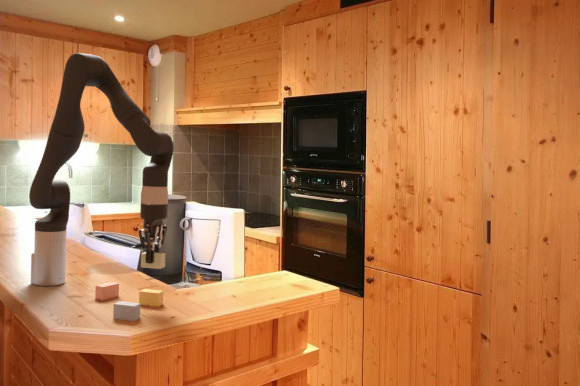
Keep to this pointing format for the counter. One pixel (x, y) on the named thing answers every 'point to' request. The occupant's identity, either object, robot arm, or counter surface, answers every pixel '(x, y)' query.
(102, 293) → the terracotta brick
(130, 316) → the slate brick
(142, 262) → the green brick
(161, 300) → the mustard brick
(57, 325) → the counter surface
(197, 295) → the counter surface
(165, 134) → the robot arm
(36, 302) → the counter surface
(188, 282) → the mounting bracket
